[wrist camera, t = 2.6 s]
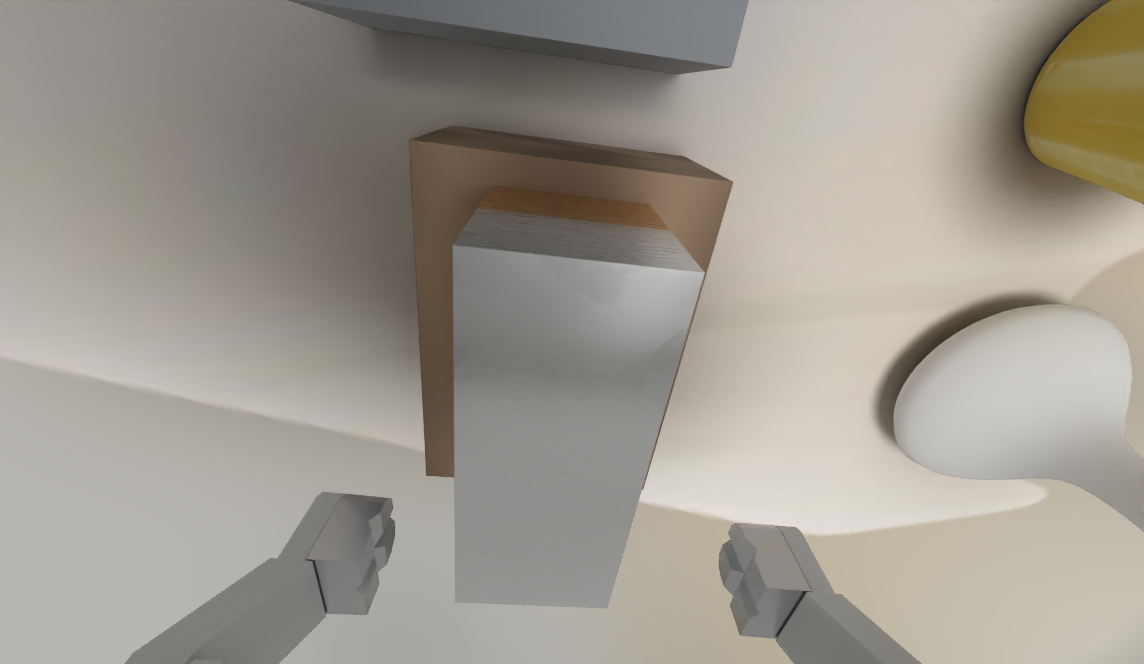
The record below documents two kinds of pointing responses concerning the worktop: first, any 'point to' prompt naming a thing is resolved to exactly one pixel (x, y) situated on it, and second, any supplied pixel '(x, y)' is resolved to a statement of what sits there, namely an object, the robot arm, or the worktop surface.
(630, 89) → the worktop surface
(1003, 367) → the flower in vase
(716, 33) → the stand
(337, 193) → the worktop surface
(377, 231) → the worktop surface
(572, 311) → the grey and tan block
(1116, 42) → the plant pot
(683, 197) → the stand
